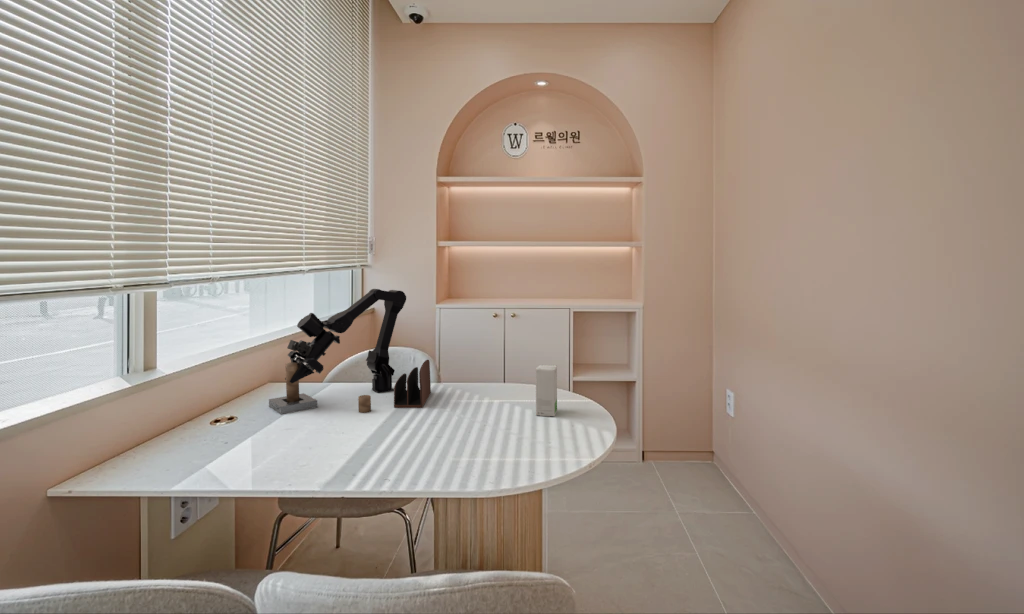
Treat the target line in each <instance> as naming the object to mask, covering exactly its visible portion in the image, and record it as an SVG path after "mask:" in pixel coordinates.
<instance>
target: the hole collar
mask: <svg viewBox="0 0 1024 614" xmlns="http://www.w3.org/2000/svg"><path fill="white" fill-rule="evenodd" d="M268 407H269V408H271V409H272V410H273V411H276V412H277V413H278V414H279V415H284V414H286V415H287V414H291V413H294V412H300V411H306V409H307V410H310V409H316V408H318V399H316V398H314V397H311V395H308V394H306V393H304V392H303V393H299V401H296V402H290V403H287V395H286V396H281V397H275V398H269V399H268Z"/></svg>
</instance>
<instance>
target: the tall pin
mask: <svg viewBox="0 0 1024 614" xmlns="http://www.w3.org/2000/svg"><path fill="white" fill-rule="evenodd" d="M284 365H285V378H286V380H285V389H286V392H285V393H286V396H287V403H290V402H296V401H299V394H300V382H299V381H300V380H298V381H296V382H294V383H291V382H290V380H291V378H292V376H293V375H294V374H295V372H296V371H297V369H298V363H295V362H293V363H291V362H287V363H285V364H284Z"/></svg>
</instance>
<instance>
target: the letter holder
mask: <svg viewBox="0 0 1024 614" xmlns="http://www.w3.org/2000/svg"><path fill="white" fill-rule="evenodd" d="M430 365H431V364H430V359H426V360H425V361H423V363H422V365H421V366H420V369H419V367H418V366H415V367H414V368H412V370H411V371H410V372H409V374H408V376H407V373H402V374H401V375H400V376H399V377H398V379H397V380H396V382H395V384H394V386H393V387H394V388H393V389H394V390H393V408H394V409H402V408H403V409H407V408H408V409H423V407H424V405H425V404H426V402H427V400H428V399H429V397H430V395H431V393H432V390H431V389H432V387H431V385H432V384H431V366H430Z"/></svg>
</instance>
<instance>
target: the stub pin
mask: <svg viewBox="0 0 1024 614" xmlns="http://www.w3.org/2000/svg"><path fill="white" fill-rule="evenodd" d="M371 397H372V396H371V395H369V394H363V395H362V394H361V395H359V396H358V398H357V401H358V403H357V404H358V413H360V414H367V413H371V411H372V406H371V405H372V398H371Z"/></svg>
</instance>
